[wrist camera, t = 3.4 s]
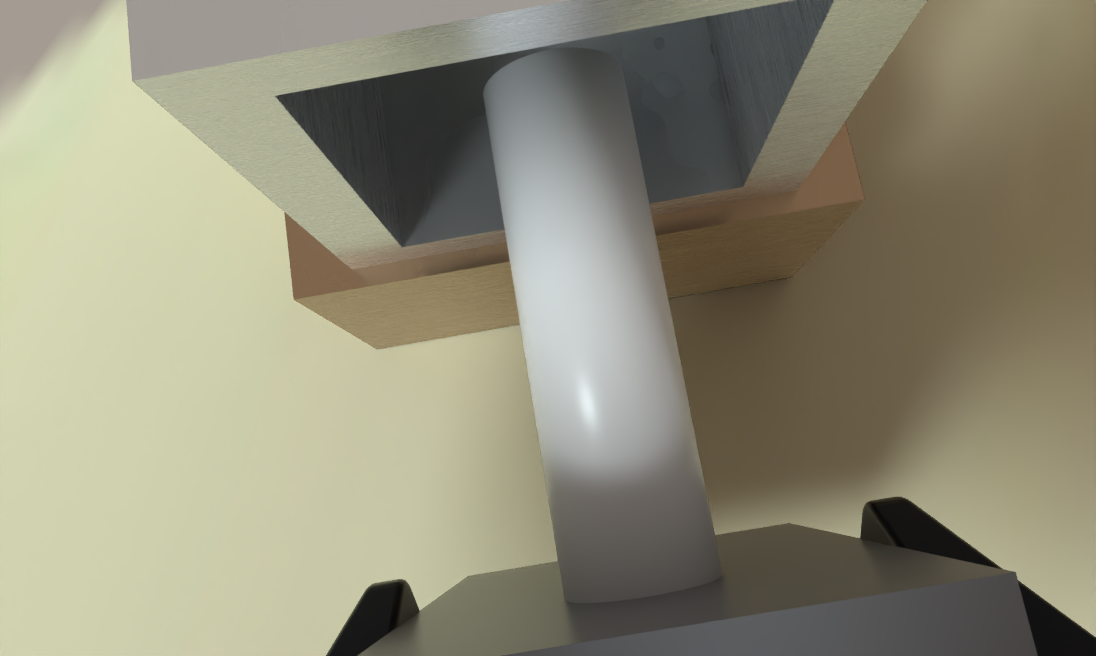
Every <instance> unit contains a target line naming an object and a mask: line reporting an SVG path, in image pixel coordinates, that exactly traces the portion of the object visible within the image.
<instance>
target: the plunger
mask: <svg viewBox="0 0 1096 656" xmlns="http://www.w3.org/2000/svg"><path fill="white" fill-rule="evenodd" d="M483 98H484V104H485V110H486V116H487V123H488V129H489V135H490V141H491V147H492V154H493V160H494V166H495V172H496V178H497V185H498V191H499V197H500V203H501V209H502V216H503V222H504V228H505V234H506V240H507V247H508V253H509V259H510V265H511V271H512V278H513V284H514V290H515V296H516V302H517V309H518V315H519V321H520V327H521V333H522V340H523V346H524V352H525V358H526V364H527V371H528V377H529V383H530V389H531V395H532V402H533V408H534V414H535V420H536V426H537V433H538V439H539V445H540V451H541V457H542V464H543V470H544V476H545V482H546V488H547V495H548V501H549V507H550V513H551V519H552V526H553V532H554V538H555V544H556V550H557V557H558V561H557V562H551V563H545V564H539V565H533V566H527V567H521V568H515V569H509V570H503V571H497V572H491V573H485V574H478V575H472V576H468V577H466V578H465V579H464V580H462V581H461V582H459V583H458V584H457V585H455V586H454V587H452V588H451V589H450V590H448V591H447V592H445V593H444V594H443V595H441V596H440V597H438V598H437V599H436V600H434V601H433V602H432V603H430V604H429V605H427V606H426V607H425V608H423V609H422V610H420V612H418V613H417V614H416V615H414V616H413V617H411V618H410V619H409V620H407V621H406V622H405V623H403V624H402V625H400V626H399V627H397V628H395V629H394V630H393V631H391V632H390V633H388V634H387V635H386V636H384V637H383V638H381V639H380V640H379V641H377V642H376V643H374V644H373V645H372V646H370V647H369V648H367V649H366V650H365V651H363V652H362V653H360V654H359V655H358V656H1038V655H1037V651H1036V648H1035V644H1034V640H1033V636H1032V633H1031V629H1030V625H1029V621H1028V617H1027V614H1026V610H1025V606H1024V602H1023V599H1022V595H1021V591H1020V587H1019V583H1018V580H1017V576H1016V572H1012V571H1008V570H1003V569H998V568H994V567H989V566H985V565H980V564H975V563H971V562H966V561H961V560H957V559H952V558H948V557H943V556H938V555H934V554H929V553H924V552H920V551H915V550H911V549H906V548H901V547H897V546H891V545H886V544H881V543H877V542H872V541H868V540H863V539H860V538H855V537H850V536H846V535H841V534H837V533H832V532H827V531H823V530H818V529H813V528H809V527H804V526H800V525H795V524H790V523H787V524H781V525H775V526H769V527H763V528H757V529H751V530H745V531H739V532H733V533H727V534H721V535H715V533H714V528H713V523H712V518H711V513H710V508H709V503H708V498H707V493H706V488H705V483H704V478H703V473H702V467H701V462H700V457H699V452H698V447H697V442H696V437H695V432H694V427H693V422H692V417H691V412H690V407H689V402H688V397H687V392H686V387H685V382H684V377H683V371H682V366H681V361H680V356H679V351H678V346H677V341H676V336H675V331H674V326H673V321H672V316H671V311H670V306H669V301H668V296H667V291H666V286H665V281H664V275H663V270H662V265H661V260H660V255H659V250H658V245H657V240H656V235H655V230H654V225H653V220H652V215H651V210H650V205H649V200H648V195H647V190H646V185H645V179H644V174H643V169H642V164H641V159H640V154H639V149H638V144H637V139H636V134H635V129H634V124H633V119H632V114H631V109H630V104H629V99H628V94H627V89H626V83H625V78H624V73H623V69H622V66H621V64H620V63H619V61H618V60H617V59H616V58H614V57H613V56H611V55H609V54H607V53H605V52H602V51H599V50H595V49H588V48H559V49H552V50H546V51H542V52H538V53H534V54H531V55H528V56H525V57H522V58H520V59H518V60H515V61H513V62H511V63H509V64H508V65H506V66H504V67H503V68H501V69H500V70H498V71H497V72H496V73H495V74H494V75H493V76H492V77H491V78H490V79H489V80H488V82H487V83H486V85H485V87H484V90H483Z"/></svg>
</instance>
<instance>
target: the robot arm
mask: <svg viewBox="0 0 1096 656" xmlns="http://www.w3.org/2000/svg"><path fill="white" fill-rule="evenodd" d="M860 539H863V540H868V541H872V542H877V543H881V544H886V545H891V546H897V547H901V548H906V549H911V550H915V551H920V552H924V553H929V554H934V555H938V556H943V557H948V558H952V559H957V560H961V561H966V562H971V563H975V564H980V565H985V566H989V567H994V568H998V569H1002V568H1001V567H999V566H998V565H997V564H995V563H994V562H992V561H991V560H990V559H988V558H987V557H986V556H984V555H983V554H982V553H980V552H979V551H977V550H976V549H975V548H973V547H972V546H971V545H969V544H968V543H967V542H965V541H964V540H962V539H961V538H960V537H958V536H957V535H956V534H954V533H953V532H952V531H950V530H949V529H948V528H946V527H945V526H943V525H942V524H941V523H939V522H938V521H937V520H935V519H934V518H933V517H931V516H930V515H928V514H927V513H926V512H924V511H923V510H922V509H920V508H919V507H918V506H916V505H915V504H914V503H912V502H911V501H909V500H908V499H906V498H903V497H891V498H885V499H879V500H873V501H869V502H867V503H866V504H865V506H864V508H863V513H862V525H861V537H860ZM1018 583H1019V587H1020V591H1021V595H1022V599H1023V602H1024V606H1025V610H1026V614H1027V617H1028V621H1029V625H1030V629H1031V633H1032V636H1033V640H1034V644H1035V648H1036V651H1037V655H1038V656H1096V637H1094V636H1093V635H1092V634H1090V633H1089V632H1088V631H1086V630H1085V629H1084V628H1082V627H1081V626H1079V625H1078V624H1077V623H1075V622H1074V621H1073V620H1071V619H1070V618H1069V617H1067V616H1066V615H1065V614H1063V613H1062V612H1060V611H1059V610H1058V609H1056V608H1055V607H1054V606H1052V605H1051V604H1050V603H1048V602H1047V601H1045V600H1044V599H1043V598H1041V597H1040V596H1039V595H1037V594H1036V593H1035V592H1033V591H1032V590H1031V589H1029V588H1028V587H1026V586H1025V585H1024V584H1022V583H1021V582H1020V581H1018ZM418 612H420V611H419V608H418V606H417V603H416V601H415V598H414V595H413V593H412V590H411V588H410V586H409V584H408V583H407V582H406V581H405V580H403V579H398V580H392V581H386V582H380V583H375V584H372V585H371V586H369V587H368V588H367V589H366V591H365V592H364V594H363V595H362V597H361V599H360V600H359V602H358V604H357V605H356V607H355V609H354V610H353V612H352V614H351V615H350V617H349V619H348V620H347V622H346V623H345V625H344V627H343V628H342V630H341V632H340V633H339V635H338V637H337V638H336V640H335V642H334V643H333V645H332V647H331V648H330V650H329V652H328V653H327V655H326V656H358V655H359V654H360V653H362V652H363V651H365V650H366V649H367V648H369V647H370V646H372V645H373V644H374V643H376V642H377V641H379V640H380V639H381V638H383V637H384V636H386V635H387V634H388V633H390V632H391V631H393V630H394V629H395V628H397V627H399V626H400V625H402V624H403V623H405V622H406V621H407V620H409V619H410V618H411V617H413V616H414V615H416V614H417V613H418Z"/></svg>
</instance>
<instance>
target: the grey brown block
mask: <svg viewBox="0 0 1096 656" xmlns="http://www.w3.org/2000/svg"><path fill="white" fill-rule="evenodd" d="M126 1H127V15H128V29H129V42H130V56H131V70H132V81H133V82H134V83H135V84H136V85H137V86H139V87H140V88H141V89H142V90H143V91H144V92H146V93H147V94H148V95H149V96H150V97H151V98H152V99H154V100H155V101H156V102H157V103H158V104H159V105H161V106H162V107H163V108H164V109H165V110H166V111H168V112H169V113H170V114H171V115H172V116H173V117H175V118H176V119H177V120H178V121H179V122H180V123H182V124H183V125H184V126H185V127H186V128H187V129H189V130H190V131H191V132H192V133H193V134H194V135H196V136H197V137H198V138H199V139H200V140H201V141H203V142H204V143H205V144H206V145H207V146H208V147H210V148H211V149H212V150H213V151H214V152H215V153H217V154H218V155H219V156H220V157H221V158H222V159H224V160H225V161H226V162H227V163H228V164H229V165H230V166H232V167H233V168H234V169H235V170H236V171H237V172H239V173H240V174H241V175H242V176H243V177H244V178H246V179H247V180H248V181H249V182H250V183H251V184H253V185H254V186H255V187H256V188H257V189H258V190H260V191H261V192H262V193H263V194H264V195H265V196H267V197H268V198H269V199H270V200H271V201H272V202H274V203H275V204H276V205H277V206H278V207H279V208H281V209H282V210H283V211H284V212H285V222H286V231H287V240H288V249H289V259H290V268H291V277H292V287H293V296H294V300H295V301H297V302H299V303H300V304H302V305H304V306H305V307H307V308H309V309H310V310H312V311H314V312H315V313H317V314H319V315H320V316H322V317H324V318H325V319H327V320H329V321H330V322H332V323H334V324H335V325H337V326H339V327H340V328H342V329H344V330H346V331H347V332H349V333H351V334H352V335H354V336H356V337H357V338H359V339H361V340H362V341H364V342H366V343H367V344H369V345H371V346H372V347H374V348H376V349H381V348H387V347H393V346H399V345H404V344H410V343H416V342H422V341H427V340H433V339H439V338H445V337H450V336H456V335H462V334H468V333H473V332H479V331H485V330H491V329H496V328H502V327H508V326H514V325H519V324H520V321H519V315H518V309H517V302H516V296H515V290H514V284H513V278H512V271H511V265H510V259H509V253H508V247H507V240H506V234H505V228H504V222H503V216H502V209H501V203H500V197H499V191H498V185H497V178H496V172H495V166H494V160H493V154H492V147H491V141H490V135H489V129H488V123H487V116H486V110H485V104H484V98H483V90H484V87H485V85H486V83H487V82H488V80H489V79H490V78H491V77H492V76H493V75H494V74H495V73H496V72H497V71H498V70H500V69H501V68H503V67H504V66H506V65H508V64H509V63H511V62H513V61H515V60H518V59H520V58H522V57H525V56H528V55H531V54H534V53H538V52H542V51H546V50H552V49H559V48H588V49H595V50H599V51H602V52H605V53H607V54H609V55H611V56H613V57H614V58H616V59H617V60H618V61H619V63H620V64H621V66H622V69H623V73H624V78H625V83H626V89H627V94H628V99H629V104H630V109H631V114H632V119H633V124H634V129H635V134H636V139H637V144H638V149H639V154H640V159H641V164H642V169H643V174H644V179H645V185H646V190H647V195H648V200H649V205H650V210H651V215H652V220H653V225H654V230H655V235H656V240H657V245H658V250H659V255H660V260H661V265H662V270H663V275H664V281H665V286H666V291H667V296H668V299H669V298H675V297H680V296H686V295H692V294H698V293H703V292H709V291H715V290H721V289H726V288H732V287H738V286H744V285H749V284H755V283H761V282H767V281H772V280H778V279H784V278H790V277H792V276H793V275H794V274H795V273H796V272H797V271H798V270H799V269H800V268H801V266H802V265H803V264H804V263H805V262H806V261H807V260H808V259H809V258H810V257H811V256H812V255H813V254H814V253H815V252H816V250H817V249H818V248H819V247H820V246H821V245H822V244H823V243H824V242H825V241H826V240H827V239H828V238H829V237H830V236H831V234H832V233H833V232H834V231H835V230H836V229H837V228H838V227H839V226H840V225H841V224H842V223H843V222H844V221H845V220H846V218H847V217H848V216H849V215H850V214H851V213H852V212H853V211H854V210H855V209H856V208H857V207H858V206H859V205H860V204H861V202H862V201H863V200H864V199H865V198H864V194H863V190H862V186H861V182H860V178H859V174H858V170H857V166H856V162H855V158H854V154H853V150H852V146H851V142H850V138H849V134H848V130H847V126H846V122H845V121H846V119H847V118H848V116H849V115H850V113H851V112H852V110H853V109H854V107H855V106H856V104H857V103H858V101H859V100H860V99H861V97H862V96H863V94H864V93H865V91H866V90H867V88H868V87H869V85H870V84H871V82H872V81H873V79H874V78H875V77H876V75H877V74H878V72H879V71H880V69H881V68H882V66H883V65H884V63H885V62H886V60H887V59H888V57H889V56H890V55H891V53H892V52H893V50H894V49H895V47H896V46H897V44H898V43H899V41H900V40H901V38H902V37H903V35H904V34H905V32H906V31H907V30H908V28H909V27H910V25H911V24H912V22H913V21H914V19H915V18H916V16H917V15H918V13H919V12H920V10H921V9H922V8H923V6H924V5H925V3H926V2H927V0H126Z"/></svg>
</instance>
